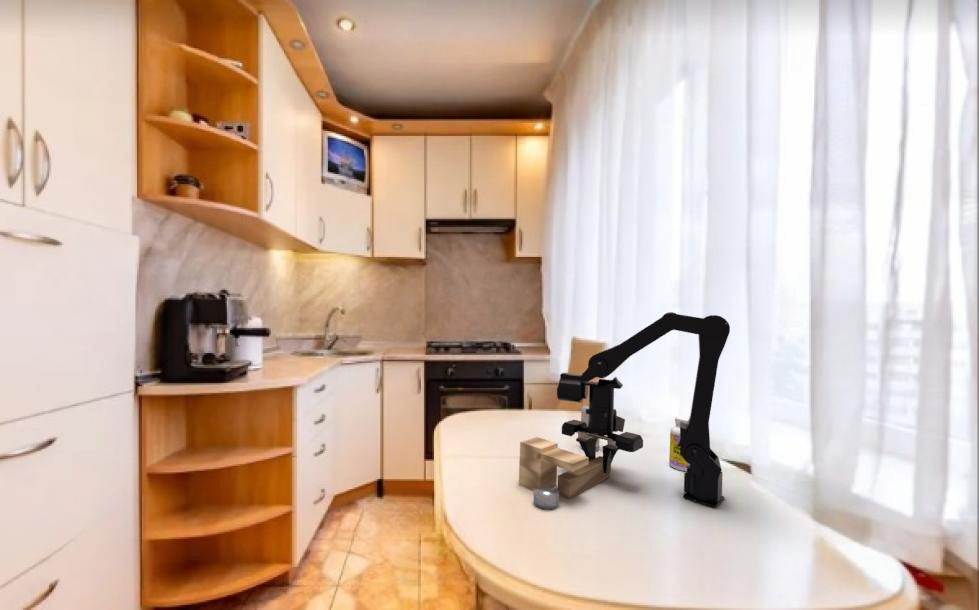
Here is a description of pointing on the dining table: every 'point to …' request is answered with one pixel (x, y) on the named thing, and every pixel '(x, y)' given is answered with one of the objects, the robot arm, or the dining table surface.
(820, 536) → the dining table surface
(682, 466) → the supplement bottle
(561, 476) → the batten
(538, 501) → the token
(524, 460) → the l-shaped wooden block
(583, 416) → the energy drink
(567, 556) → the dining table surface
